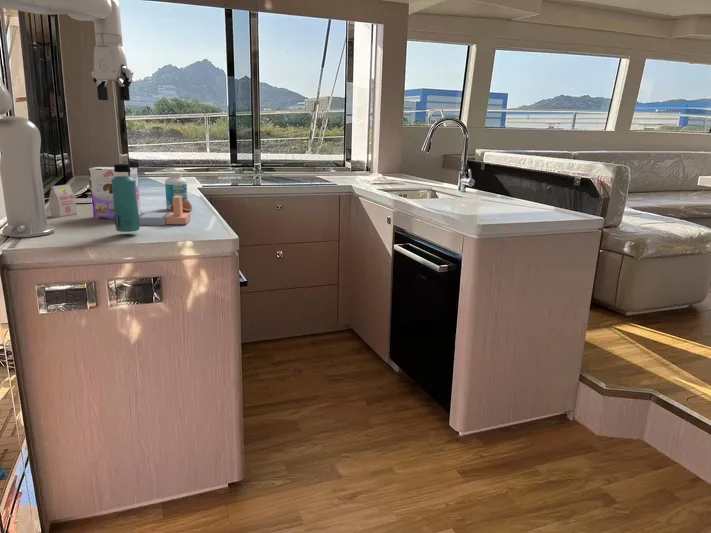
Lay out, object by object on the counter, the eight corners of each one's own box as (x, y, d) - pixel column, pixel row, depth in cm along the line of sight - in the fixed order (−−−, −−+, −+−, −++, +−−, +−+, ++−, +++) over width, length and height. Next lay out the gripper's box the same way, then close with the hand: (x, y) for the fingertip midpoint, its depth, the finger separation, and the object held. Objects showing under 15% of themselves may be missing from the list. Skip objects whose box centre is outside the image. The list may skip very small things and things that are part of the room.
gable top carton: (51, 216, 176) (47, 186, 173) (68, 213, 182) (65, 184, 179) (59, 217, 174) (55, 186, 172) (76, 214, 180) (73, 184, 178)
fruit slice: (184, 216, 183) (183, 202, 182) (166, 215, 184) (165, 201, 183) (195, 212, 191) (195, 198, 189) (178, 211, 192) (177, 197, 191)
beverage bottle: (145, 233, 155) (140, 163, 150) (131, 238, 149) (125, 165, 144) (125, 231, 156) (119, 162, 151) (110, 236, 150) (103, 164, 145)
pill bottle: (175, 211, 191) (173, 173, 188) (162, 209, 195) (159, 172, 192) (192, 209, 198) (190, 172, 194) (178, 207, 201) (176, 170, 198)
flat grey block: (165, 225, 168) (164, 217, 167) (128, 225, 166) (127, 217, 165) (170, 219, 176) (170, 212, 175) (135, 219, 175) (135, 212, 174)
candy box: (142, 217, 179) (138, 167, 175) (133, 220, 173) (129, 169, 169) (102, 215, 180) (98, 166, 176) (92, 218, 175) (87, 167, 170)
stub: (186, 224, 168) (184, 198, 166) (166, 224, 168) (164, 198, 165) (190, 219, 177) (189, 194, 175) (171, 219, 176) (170, 194, 174)
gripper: (79, 41, 165) (84, 99, 170) (119, 39, 158) (123, 100, 162) (99, 44, 172) (104, 100, 176) (139, 42, 164) (143, 101, 169)
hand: (114, 100), depth 169 cm, fingers open, 9 cm apart
